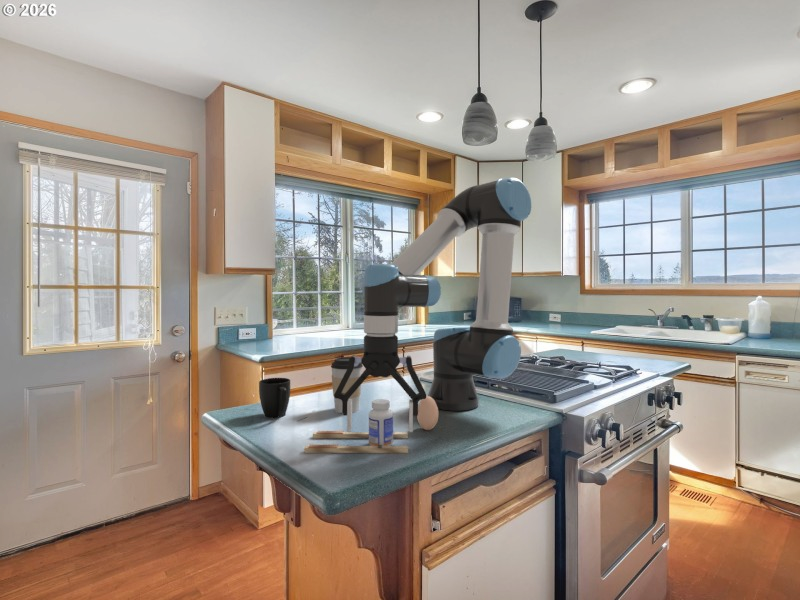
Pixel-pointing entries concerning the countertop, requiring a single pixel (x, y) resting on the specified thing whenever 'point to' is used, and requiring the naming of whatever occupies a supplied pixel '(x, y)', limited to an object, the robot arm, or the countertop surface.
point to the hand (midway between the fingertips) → (380, 430)
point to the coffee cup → (337, 374)
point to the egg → (427, 413)
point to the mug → (274, 396)
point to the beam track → (353, 448)
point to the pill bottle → (381, 423)
